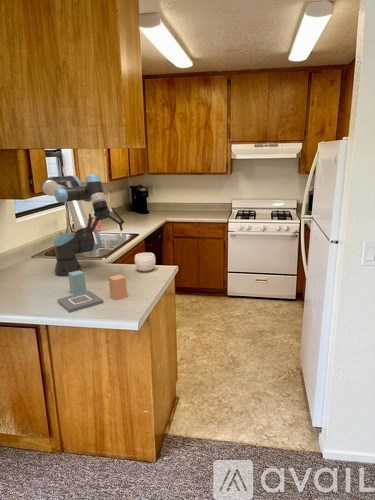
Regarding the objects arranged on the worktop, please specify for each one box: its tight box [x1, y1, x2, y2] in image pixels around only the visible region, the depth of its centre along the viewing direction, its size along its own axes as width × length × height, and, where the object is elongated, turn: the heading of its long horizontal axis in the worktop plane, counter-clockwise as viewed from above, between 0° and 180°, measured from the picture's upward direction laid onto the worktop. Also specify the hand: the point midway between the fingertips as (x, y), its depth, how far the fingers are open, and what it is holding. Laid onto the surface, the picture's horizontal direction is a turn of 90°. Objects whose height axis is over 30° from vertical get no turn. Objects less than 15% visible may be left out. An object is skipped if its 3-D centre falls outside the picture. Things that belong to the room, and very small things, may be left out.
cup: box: [134, 252, 157, 273], centre depth 212 cm, size 12×12×10 cm
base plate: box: [56, 290, 104, 313], centre depth 167 cm, size 16×16×2 cm
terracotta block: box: [108, 274, 128, 301], centre depth 172 cm, size 6×6×10 cm
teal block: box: [68, 270, 87, 295], centre depth 181 cm, size 6×6×10 cm
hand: (109, 240), depth 188 cm, fingers open, 13 cm apart
